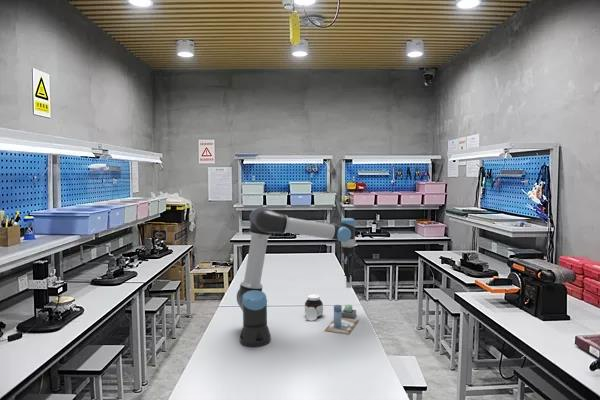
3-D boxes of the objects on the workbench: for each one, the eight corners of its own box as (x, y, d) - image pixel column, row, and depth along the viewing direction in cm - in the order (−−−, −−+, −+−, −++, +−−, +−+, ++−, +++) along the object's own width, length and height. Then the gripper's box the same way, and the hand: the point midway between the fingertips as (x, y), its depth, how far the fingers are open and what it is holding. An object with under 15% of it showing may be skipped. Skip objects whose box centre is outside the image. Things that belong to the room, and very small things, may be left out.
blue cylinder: (340, 328, 211) (340, 307, 210) (332, 327, 213) (332, 306, 212) (342, 325, 215) (342, 305, 214) (335, 324, 216) (335, 304, 216)
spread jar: (319, 312, 237) (319, 293, 236) (327, 319, 226) (327, 299, 225) (300, 315, 232) (299, 295, 231) (307, 322, 222) (307, 301, 221)
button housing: (353, 319, 226) (353, 314, 225) (340, 317, 228) (340, 312, 228) (356, 315, 232) (356, 309, 232) (344, 313, 235) (344, 308, 235)
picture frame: (349, 334, 205) (349, 333, 205) (324, 331, 210) (324, 329, 210) (358, 320, 223) (358, 319, 223) (336, 317, 228) (336, 316, 228)
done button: (351, 314, 227) (351, 307, 227) (343, 313, 229) (343, 306, 229) (353, 312, 231) (353, 305, 231) (346, 311, 233) (345, 304, 232)
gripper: (351, 248, 219) (352, 291, 221) (357, 244, 231) (358, 284, 233) (338, 247, 222) (338, 290, 224) (345, 243, 234) (345, 283, 236)
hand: (348, 287), depth 228 cm, fingers closed
